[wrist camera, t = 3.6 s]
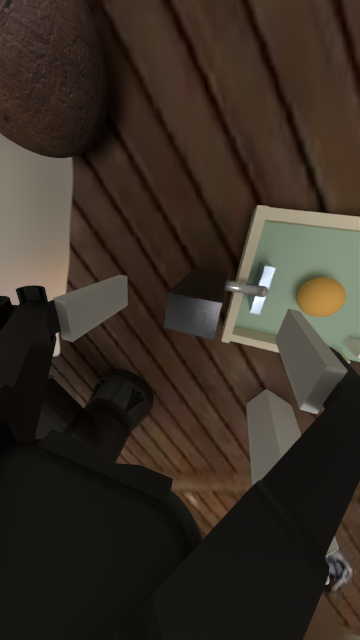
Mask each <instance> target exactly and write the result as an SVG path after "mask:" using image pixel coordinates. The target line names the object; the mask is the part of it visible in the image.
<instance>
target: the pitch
mask: <svg viewBox="0 0 360 640" xmlns="http://www.w3.org/2000/svg"><path fill="white" fill-rule="evenodd" d="M260 261H263V262H269V263H271V264H272V265H273V266H274V267H276V269H275V272H274V275H273V278H272V280H271V283H270V286H269V289H268V294H267V296H266V297H265V300H264V303H263V306H262V309H261V312H260V315H259V314H254V313H250V310H249V305H248V299H249V296H250V295H246V294H241V293H236V292H232V295H231V298H230V302H229V306H228V310H227V314H226V318H225V321H224V325H223V332H222V342H226V343H229V342H230V341H233V342H237V343H241V344H246V345H250V346H254V347H258V348H262V349H266V350H271V351H275V352H279V350H278V347H277V344H276V341H275V339H276V336H277V334H278V332H279V329H280V327H281V324H282V322H283V320H284V317H285V315H286V313H287V310H288V309H293V310H298V311H300V312H301V313H302V315H303V316H304V317H305V318H306V319H307V321H308V322H309V323H310V324H311V326H312V327H313V328H314V329H315V331H316V332H317V333H318V334H319V336H320V337H321V338H322V339H323V341H324V342H325V343H326V344H327V346H328V347H332V348H333V349H335V350H336V351H337V352H339V353H340V354H341V355H342V356H343V358H344V359H345V360H346V361H347V362H348V363H349V364H350V361H349V360H348V359H350V360H354V361H358V362H360V217H356V216H347V215H337V214H328V213H318V212H309V211H299V210H290V209H280V208H271V207H269V206H262V205H257V207H256V208H255V209H254V210H253V214H252V218H251V222H250V225H249V229H248V233H247V237H246V241H245V245H244V248H243V252H242V256H241V260H240V264H239V268H238V272H237V275H236V279H235V281H239V282H245V283H250V284H253V283H254V280H255V276H256V273H257V270H258V267H259V263H260ZM315 278H331V279H334V280H336V281H338V282H339V283H340V284H341V285H342V286H343V287H344V289H345V292H346V300H345V303H344V305H343V306H342V307H341V309H339V310H338V311H337V312H336V313H334V314H332V315H329V316H325V317H314V316H310V315H308V314H306V313H304V312H303V311H302V310H301V309H300V308H299V306H298V304H297V293H298V291H299V289H300V288H301V287H302V286H303V285H304V284H305V283H306V282H308V281H310V280H312V279H315Z"/></svg>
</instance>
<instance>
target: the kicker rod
mask: <svg viewBox="0 0 360 640" xmlns="http://www.w3.org/2000/svg"><path fill="white" fill-rule="evenodd" d="M275 269H276V267H274V266H273V265H272V264H271V263H269V262H263V261H260V263H259V267H258V270H257V273H256V276H255V280H254V283H253V284H250V283H245V282H239V281H233V280H228V279H227V273H225V272H219V271H214V270H208V269H202V268H195V269H194V270H193V271H191V272H190V273H189V274H188V275H187V276H186V277H184V278H183V279H182V280H181V281H180V282H179V283H177V284H176V285H175V286H174V287H173V288H172V289H171V290H169V291H168V292H167V301H166V312H165V323H164V328H167V329H171V330H175V331H179V332H183V333H188V334H192V335H196V336H200V337H204V338H208V339H212V340H213V339H214V335H215V331H216V327H217V322H218V318H219V314H220V310H221V306H222V301H223V295H224V290H225V291H231V292H236V293H241V294H246V295H250V296H249V299H248V305H249V310H250V313H254V314H259V315H260V312H261V309H262V306H263V303H264V300H265V297H266V296H267V294H268V289H269V286H270V283H271V280H272V278H273V275H274V272H275Z"/></svg>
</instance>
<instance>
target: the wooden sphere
mask: <svg viewBox="0 0 360 640" xmlns="http://www.w3.org/2000/svg"><path fill="white" fill-rule="evenodd" d="M107 107H108V76H107V68H106V61H105V56H104V51H103V47H102V43H101V39H100V36H99V32H98V29H97V26H96V23H95V20H94V18H93V15H92V12H91V10H90V7H89V5H88V2H87V0H0V133H1V134H2V135H4V136H5V137H6V138H8V139H9V140H11V141H13V142H14V143H16V144H17V145H19V146H21V147H23V148H25V149H27V150H29V151H32V152H34V153H37V154H40V155H43V156H47V157H53V158H54V157H55V158H67V157H72V156H76V155H78V154H81V153H82V152H84V151H86V150H87V149H88V148H89V147H90V146H91V145H92V144H93V143H94V142H95V141H96V139H97V138H98V136H99V134H100V132H101V130H102V128H103V125H104V122H105V118H106V114H107Z"/></svg>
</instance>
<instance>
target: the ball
mask: <svg viewBox="0 0 360 640" xmlns="http://www.w3.org/2000/svg"><path fill="white" fill-rule="evenodd" d="M345 300H346V292H345V289H344V287H343V286H342V285H341V284H340V283H339V282H338V281H336V280H334V279H331V278H315V279H312V280H310V281H308V282H306V283H305V284H304V285H303V286H302V287H301V288H300V289H299V291H298V293H297V304H298V306H299V308H300V309H301V310H302V311H303V312H304V313H306V314H308V315H310V316H314V317H325V316H329V315H332V314H334V313H336V312H337V311H338V310H339V309H341V307H342V306H343V305H344V303H345Z"/></svg>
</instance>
